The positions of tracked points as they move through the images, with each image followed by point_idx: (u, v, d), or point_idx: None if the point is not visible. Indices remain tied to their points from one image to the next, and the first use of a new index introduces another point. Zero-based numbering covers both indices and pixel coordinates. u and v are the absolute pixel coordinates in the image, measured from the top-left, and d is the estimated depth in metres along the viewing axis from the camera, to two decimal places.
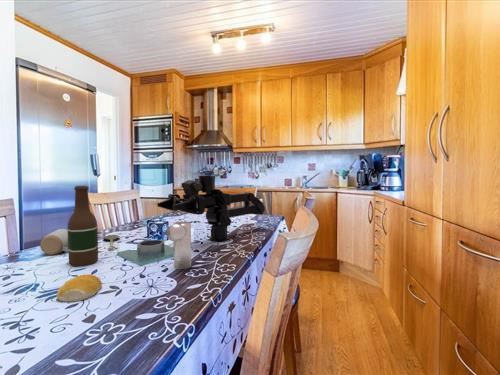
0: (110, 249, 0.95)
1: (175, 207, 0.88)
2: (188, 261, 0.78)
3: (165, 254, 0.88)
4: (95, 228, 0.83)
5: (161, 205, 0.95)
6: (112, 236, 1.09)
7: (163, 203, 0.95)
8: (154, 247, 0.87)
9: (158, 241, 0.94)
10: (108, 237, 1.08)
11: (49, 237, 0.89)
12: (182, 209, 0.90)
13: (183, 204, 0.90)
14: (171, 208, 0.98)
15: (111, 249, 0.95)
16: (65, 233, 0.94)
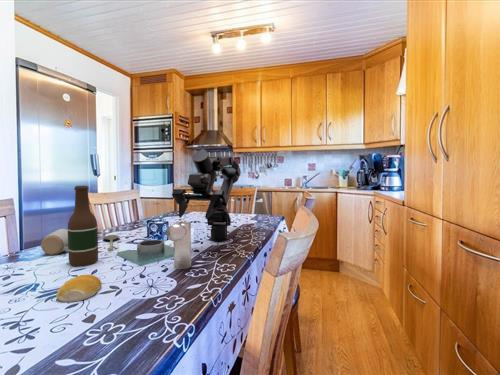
0: (110, 249, 0.95)
1: (208, 216, 0.85)
2: (188, 261, 0.78)
3: (165, 254, 0.88)
4: (95, 228, 0.83)
5: (181, 214, 0.88)
6: (112, 236, 1.09)
7: (182, 210, 0.88)
8: (154, 247, 0.87)
9: (158, 241, 0.94)
10: (108, 237, 1.08)
11: (50, 237, 0.89)
12: (212, 212, 0.87)
13: (211, 208, 0.86)
14: (186, 207, 0.92)
15: (111, 249, 0.95)
16: (66, 233, 0.94)
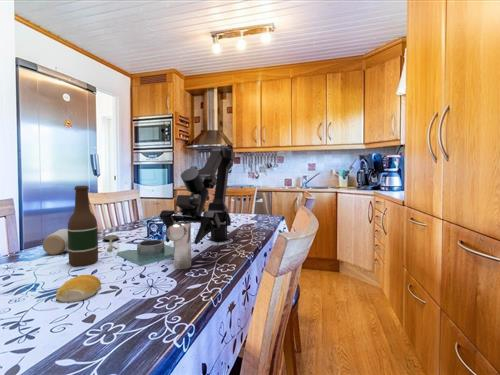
0: (109, 249, 0.94)
1: (197, 241, 0.78)
2: (188, 261, 0.78)
3: (165, 254, 0.88)
4: (95, 228, 0.83)
5: None
6: (111, 236, 1.09)
7: None
8: (154, 247, 0.87)
9: (158, 241, 0.94)
10: (107, 237, 1.08)
11: (51, 237, 0.89)
12: (202, 236, 0.80)
13: (201, 232, 0.79)
14: None
15: (110, 249, 0.94)
16: (67, 233, 0.95)
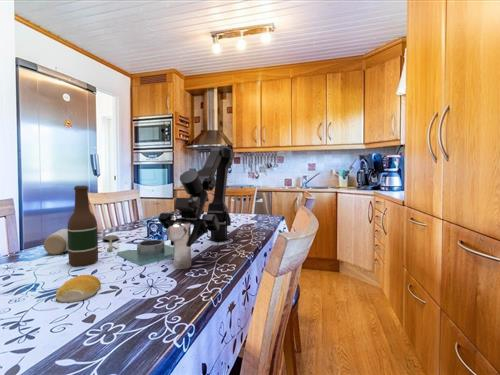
0: (109, 250, 0.94)
1: (190, 244, 0.78)
2: (188, 261, 0.78)
3: (165, 254, 0.88)
4: (95, 228, 0.83)
5: (173, 241, 0.79)
6: (111, 237, 1.08)
7: None
8: (154, 247, 0.87)
9: (158, 241, 0.94)
10: (107, 238, 1.07)
11: (52, 237, 0.89)
12: (196, 239, 0.80)
13: (195, 235, 0.79)
14: None
15: (110, 250, 0.94)
16: None
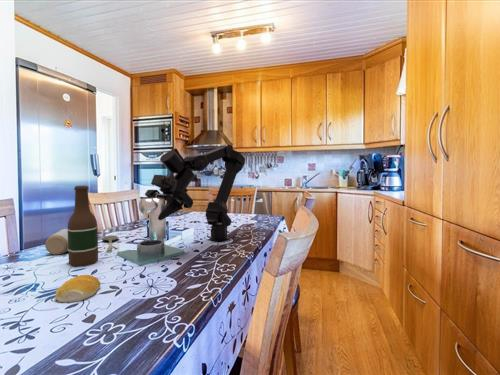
0: (108, 250, 0.94)
1: (161, 218, 0.83)
2: (160, 234, 0.84)
3: (165, 254, 0.88)
4: (95, 228, 0.83)
5: None
6: (111, 237, 1.08)
7: None
8: (154, 247, 0.87)
9: (158, 241, 0.94)
10: (107, 238, 1.07)
11: (54, 237, 0.89)
12: (168, 214, 0.84)
13: (166, 210, 0.84)
14: None
15: (109, 250, 0.94)
16: None
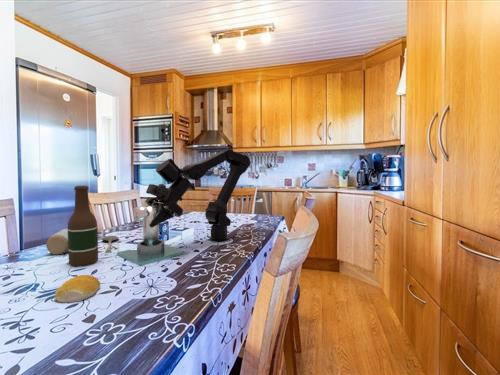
0: (107, 250, 0.93)
1: (152, 225, 0.88)
2: (151, 240, 0.89)
3: (165, 254, 0.88)
4: (95, 228, 0.83)
5: None
6: (111, 237, 1.07)
7: None
8: (154, 247, 0.87)
9: None
10: (107, 238, 1.06)
11: (55, 237, 0.90)
12: (160, 221, 0.89)
13: (157, 217, 0.88)
14: None
15: (108, 250, 0.93)
16: None
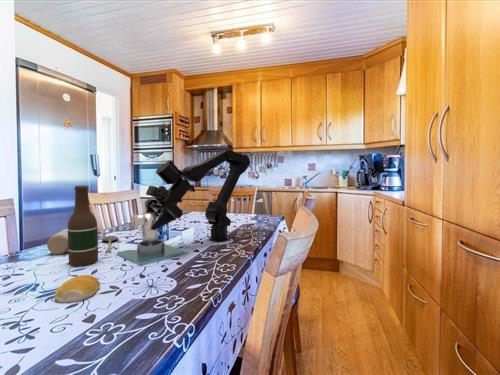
0: (107, 251, 0.93)
1: (154, 228, 0.86)
2: None
3: (165, 254, 0.88)
4: (95, 228, 0.83)
5: None
6: (111, 237, 1.07)
7: None
8: (154, 247, 0.87)
9: (158, 241, 0.94)
10: (107, 238, 1.06)
11: (56, 237, 0.90)
12: (162, 224, 0.87)
13: (159, 220, 0.87)
14: None
15: (108, 251, 0.93)
16: None
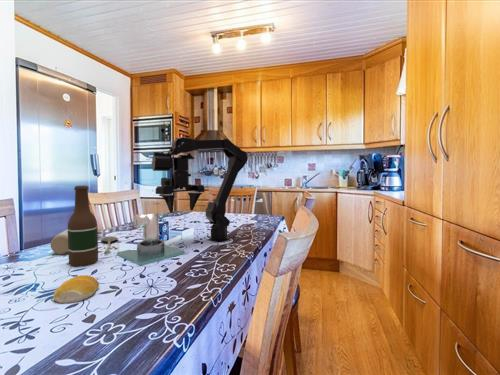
0: (106, 252, 0.92)
1: (170, 211, 0.98)
2: None
3: (165, 254, 0.88)
4: (95, 228, 0.83)
5: (191, 207, 1.06)
6: (110, 238, 1.06)
7: (190, 204, 1.06)
8: (154, 247, 0.87)
9: None
10: (106, 239, 1.05)
11: (59, 237, 0.90)
12: (170, 205, 0.97)
13: (167, 204, 0.98)
14: (195, 196, 1.04)
15: (107, 252, 0.92)
16: None
